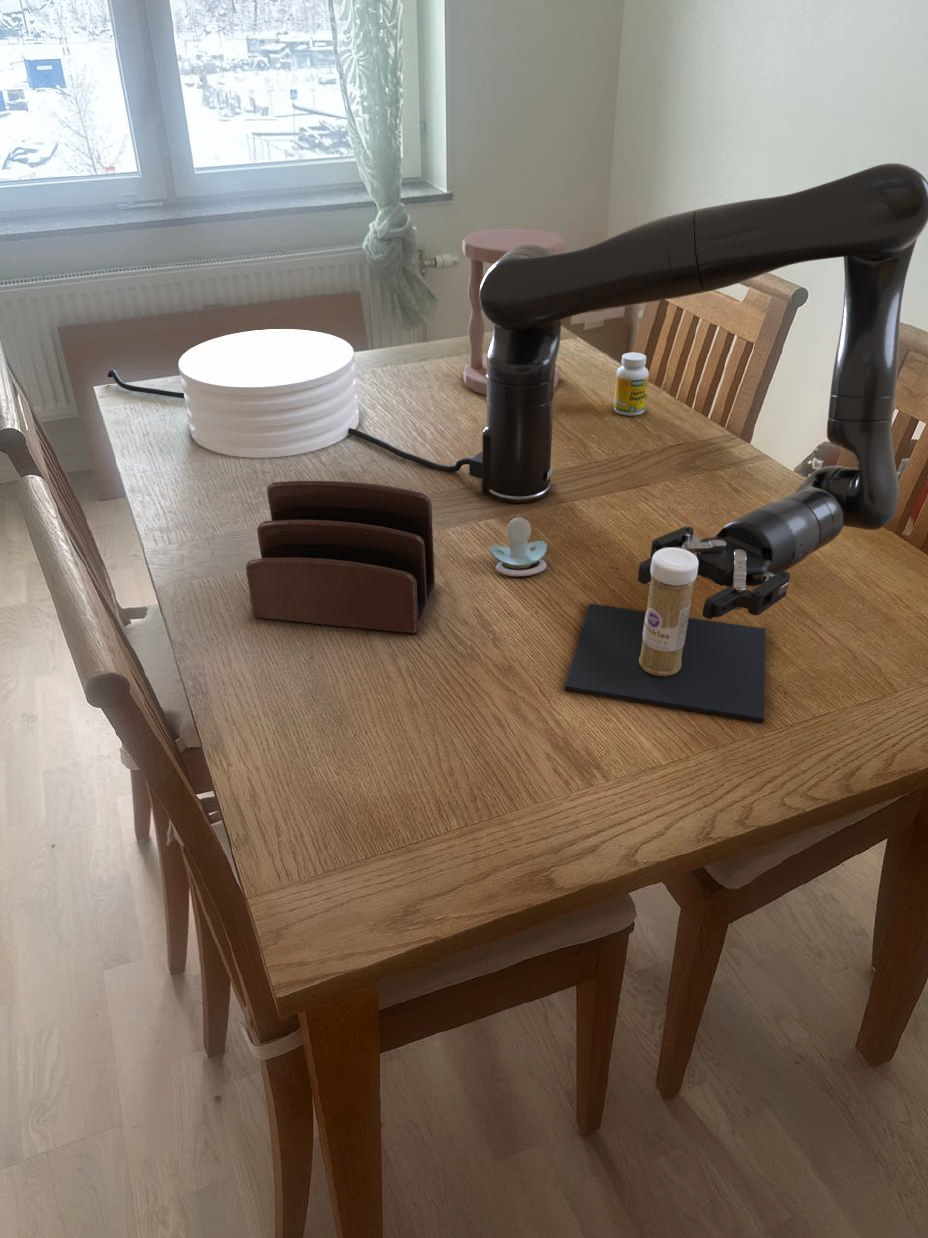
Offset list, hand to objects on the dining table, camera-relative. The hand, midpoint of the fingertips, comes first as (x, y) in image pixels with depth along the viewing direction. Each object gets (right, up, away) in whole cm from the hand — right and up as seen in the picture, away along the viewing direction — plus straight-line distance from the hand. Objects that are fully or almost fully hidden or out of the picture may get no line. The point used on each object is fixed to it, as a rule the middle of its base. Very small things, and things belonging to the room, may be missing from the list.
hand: (672, 592), depth 94 cm
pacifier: (-14, +4, +23) cm, 27 cm away
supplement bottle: (+7, +33, +65) cm, 73 cm away
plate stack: (-53, +30, +62) cm, 87 cm away
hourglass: (-13, +41, +77) cm, 88 cm away
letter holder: (-35, -1, +16) cm, 39 cm away
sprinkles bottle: (0, -8, +5) cm, 9 cm away
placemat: (+1, -7, +6) cm, 10 cm away
